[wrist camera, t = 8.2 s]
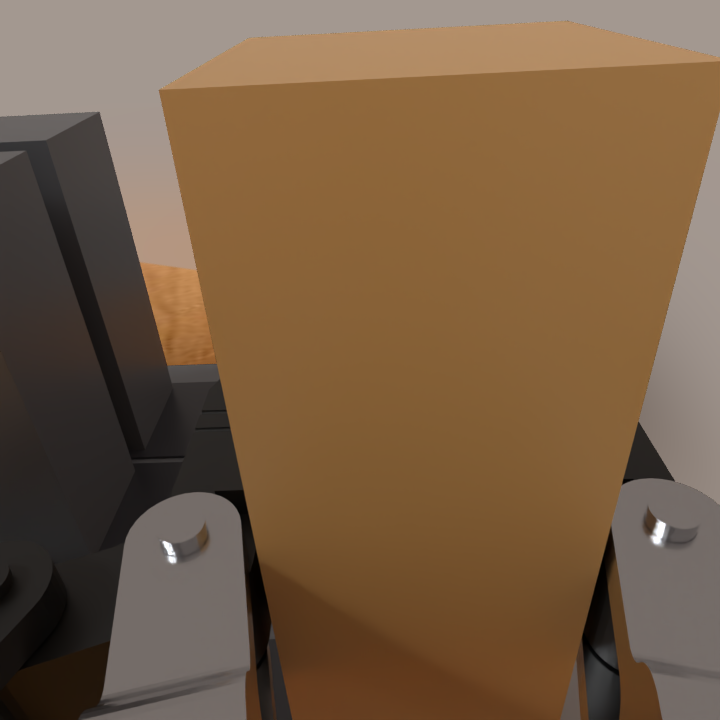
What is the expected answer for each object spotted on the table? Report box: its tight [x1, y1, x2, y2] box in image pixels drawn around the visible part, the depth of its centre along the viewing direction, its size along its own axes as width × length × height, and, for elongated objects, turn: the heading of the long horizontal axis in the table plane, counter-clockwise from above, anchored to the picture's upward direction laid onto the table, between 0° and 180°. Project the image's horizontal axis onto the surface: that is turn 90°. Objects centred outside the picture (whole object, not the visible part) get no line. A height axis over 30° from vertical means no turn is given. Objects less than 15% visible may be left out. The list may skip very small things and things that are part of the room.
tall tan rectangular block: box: [159, 21, 720, 720], centre depth 8 cm, size 4×4×12 cm
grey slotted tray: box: [0, 112, 581, 720], centre depth 13 cm, size 17×20×12 cm
